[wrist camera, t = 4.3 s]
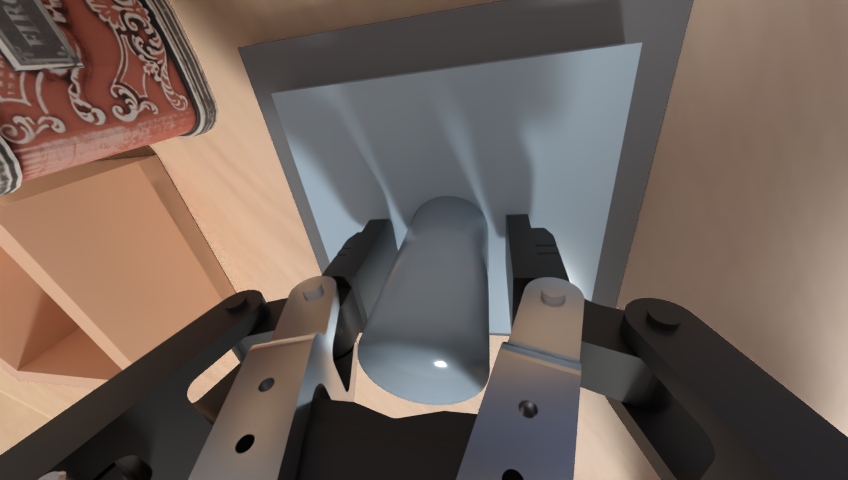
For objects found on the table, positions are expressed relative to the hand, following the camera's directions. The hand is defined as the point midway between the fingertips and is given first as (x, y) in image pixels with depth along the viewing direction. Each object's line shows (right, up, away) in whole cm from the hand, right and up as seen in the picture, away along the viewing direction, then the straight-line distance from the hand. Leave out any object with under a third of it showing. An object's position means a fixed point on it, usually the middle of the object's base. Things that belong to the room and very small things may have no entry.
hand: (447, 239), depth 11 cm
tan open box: (-18, 0, +7) cm, 19 cm away
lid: (0, +1, +2) cm, 2 cm away
